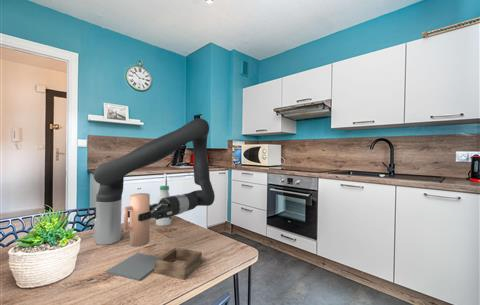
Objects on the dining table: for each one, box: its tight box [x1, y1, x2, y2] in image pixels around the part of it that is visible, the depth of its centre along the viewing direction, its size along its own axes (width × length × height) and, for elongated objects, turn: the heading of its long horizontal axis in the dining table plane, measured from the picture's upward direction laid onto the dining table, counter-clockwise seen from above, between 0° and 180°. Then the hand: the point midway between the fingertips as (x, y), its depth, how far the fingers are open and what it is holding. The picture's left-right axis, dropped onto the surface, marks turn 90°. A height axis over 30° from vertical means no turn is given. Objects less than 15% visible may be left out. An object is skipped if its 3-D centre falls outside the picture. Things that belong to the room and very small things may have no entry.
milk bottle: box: [155, 185, 173, 227], centre depth 114 cm, size 8×8×20 cm
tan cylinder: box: [123, 192, 151, 248], centre depth 71 cm, size 8×6×16 cm
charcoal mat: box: [105, 252, 160, 282], centre depth 72 cm, size 13×13×1 cm
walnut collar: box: [153, 247, 203, 280], centre depth 71 cm, size 11×11×4 cm
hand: (133, 216), depth 70 cm, fingers closed on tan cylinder, 6 cm apart
